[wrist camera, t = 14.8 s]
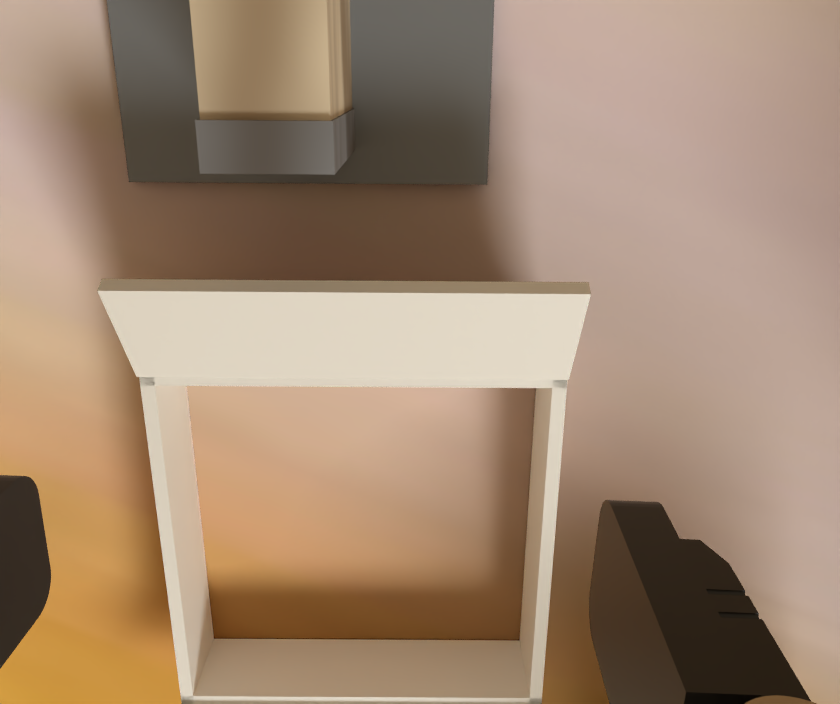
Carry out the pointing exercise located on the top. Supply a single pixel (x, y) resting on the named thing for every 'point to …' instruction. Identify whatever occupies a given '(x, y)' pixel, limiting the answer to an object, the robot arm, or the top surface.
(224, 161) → the capped box
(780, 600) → the top surface
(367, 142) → the mat
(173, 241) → the top surface
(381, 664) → the carton
